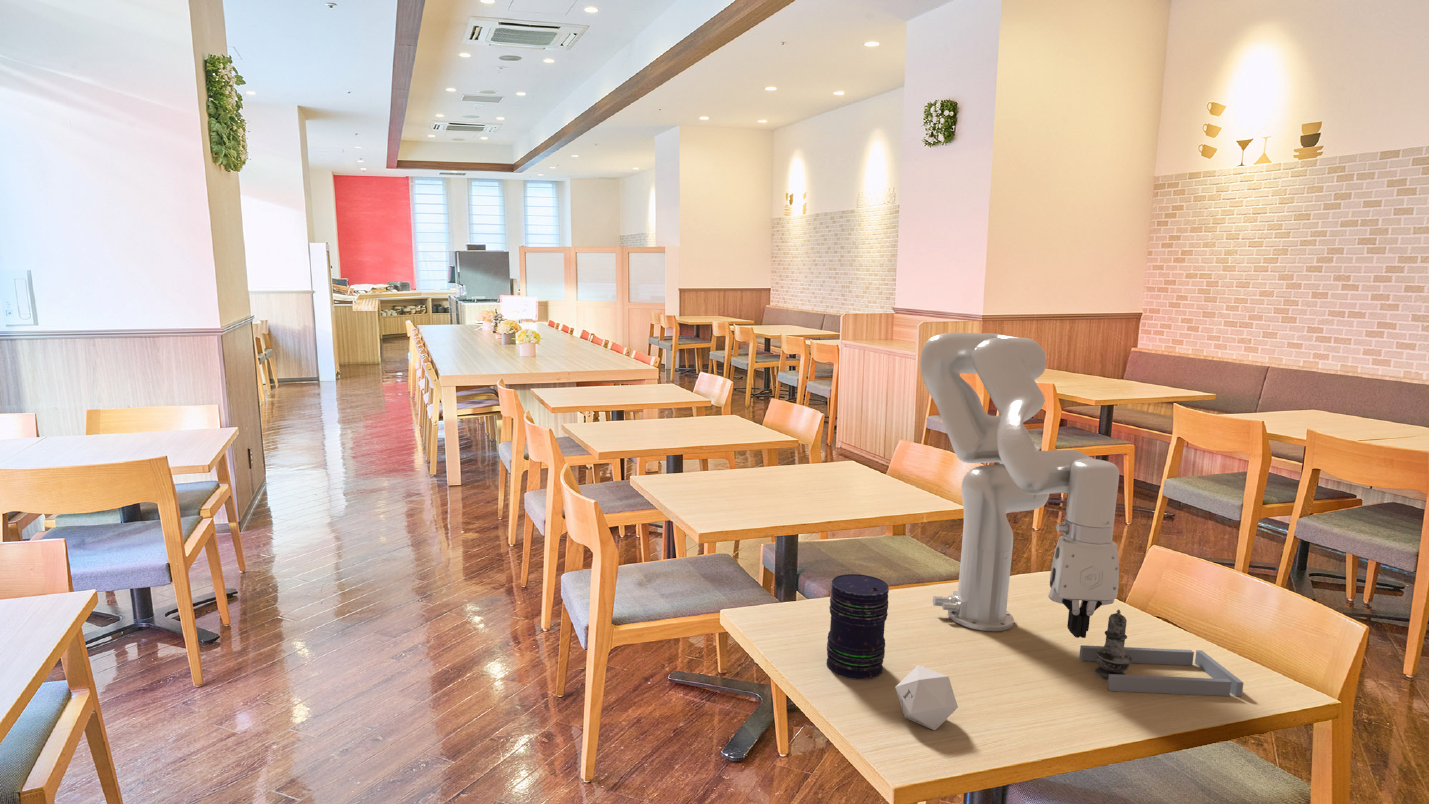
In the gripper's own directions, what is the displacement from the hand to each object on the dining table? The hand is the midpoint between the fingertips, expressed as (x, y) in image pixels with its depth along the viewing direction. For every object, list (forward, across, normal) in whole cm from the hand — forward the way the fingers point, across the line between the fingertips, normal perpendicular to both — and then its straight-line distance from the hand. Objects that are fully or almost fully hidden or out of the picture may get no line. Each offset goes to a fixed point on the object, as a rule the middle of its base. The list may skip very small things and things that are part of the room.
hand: (1077, 634), depth 142 cm
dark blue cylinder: (+7, -38, -1) cm, 39 cm away
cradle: (+7, +14, 0) cm, 15 cm away
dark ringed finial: (+7, +7, 0) cm, 10 cm away
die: (+8, -30, -18) cm, 36 cm away
